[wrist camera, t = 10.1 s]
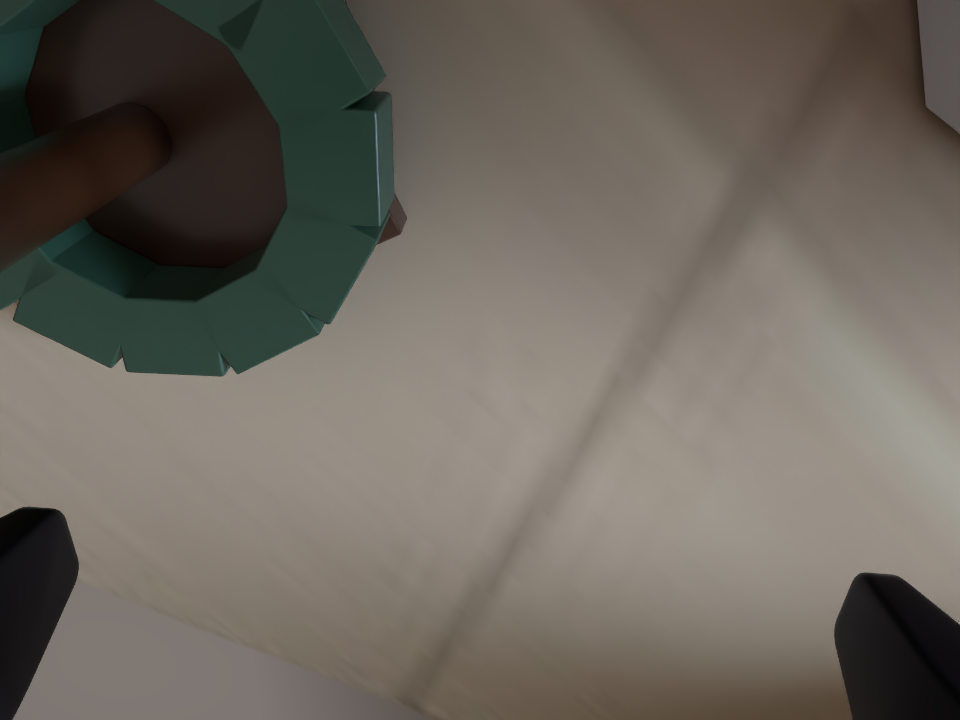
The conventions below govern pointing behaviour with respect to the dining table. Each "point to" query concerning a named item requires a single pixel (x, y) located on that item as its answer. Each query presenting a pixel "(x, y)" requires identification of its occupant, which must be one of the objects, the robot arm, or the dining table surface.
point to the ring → (296, 239)
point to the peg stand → (144, 142)
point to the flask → (941, 57)
